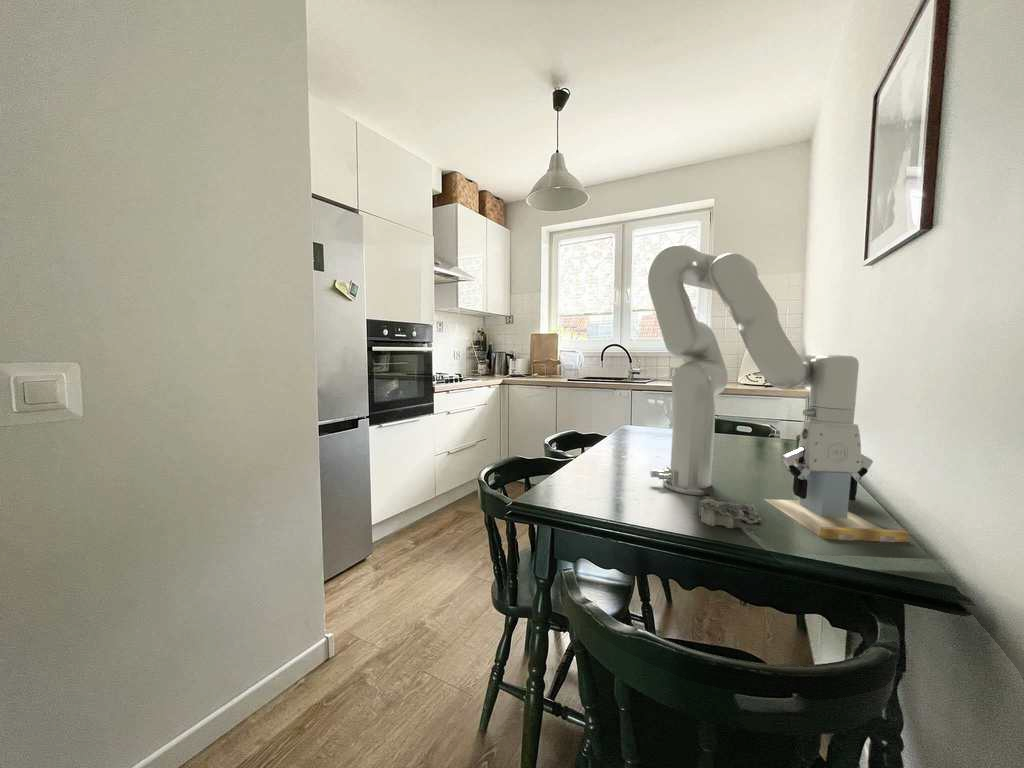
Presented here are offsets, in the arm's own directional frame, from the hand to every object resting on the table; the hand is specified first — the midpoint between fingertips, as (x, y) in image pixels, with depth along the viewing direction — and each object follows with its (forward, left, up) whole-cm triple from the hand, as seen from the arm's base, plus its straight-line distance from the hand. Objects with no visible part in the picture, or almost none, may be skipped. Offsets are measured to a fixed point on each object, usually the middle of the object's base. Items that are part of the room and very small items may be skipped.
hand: (823, 497), depth 89 cm
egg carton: (-21, -4, -5) cm, 22 cm away
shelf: (-2, -4, -4) cm, 6 cm away
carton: (0, 0, -3) cm, 3 cm away
